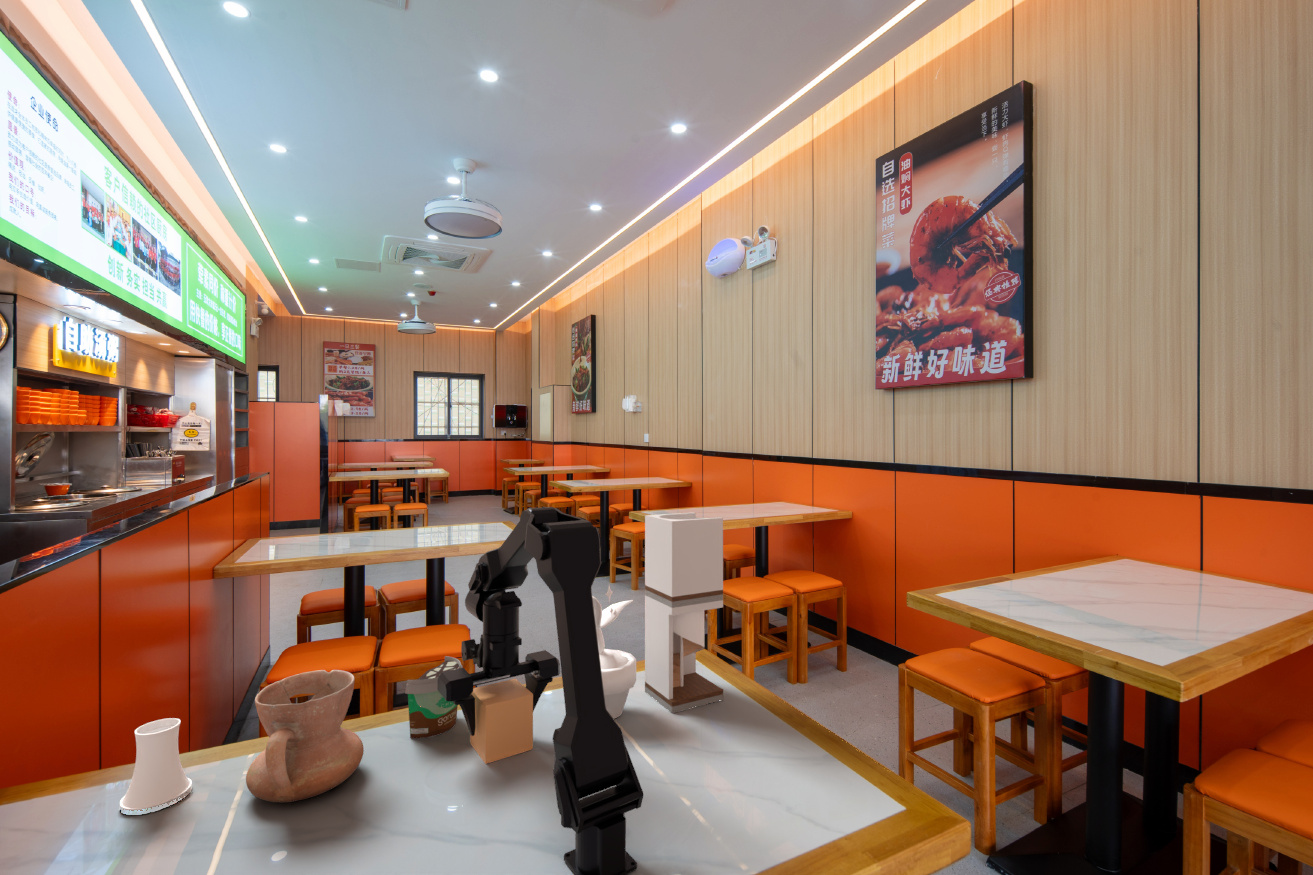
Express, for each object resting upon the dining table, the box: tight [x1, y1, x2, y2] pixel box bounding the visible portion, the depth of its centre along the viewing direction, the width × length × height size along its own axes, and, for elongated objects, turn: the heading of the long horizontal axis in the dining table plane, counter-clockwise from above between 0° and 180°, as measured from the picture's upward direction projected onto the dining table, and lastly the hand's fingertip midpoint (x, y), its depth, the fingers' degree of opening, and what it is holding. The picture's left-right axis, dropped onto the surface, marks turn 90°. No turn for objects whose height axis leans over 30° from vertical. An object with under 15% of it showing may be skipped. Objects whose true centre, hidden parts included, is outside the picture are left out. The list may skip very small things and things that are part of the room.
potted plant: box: [592, 583, 637, 720], centre depth 106 cm, size 13×12×25 cm
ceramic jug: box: [245, 669, 365, 803], centre depth 83 cm, size 18×14×14 cm
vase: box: [119, 717, 193, 811], centre depth 80 cm, size 8×8×10 cm
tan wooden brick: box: [469, 678, 534, 765], centre depth 94 cm, size 8×8×9 cm
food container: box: [404, 655, 464, 739], centre depth 101 cm, size 12×6×10 cm, turn 168°
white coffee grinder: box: [644, 512, 724, 714], centre depth 114 cm, size 11×11×35 cm
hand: (500, 726), depth 95 cm, fingers open, 9 cm apart
